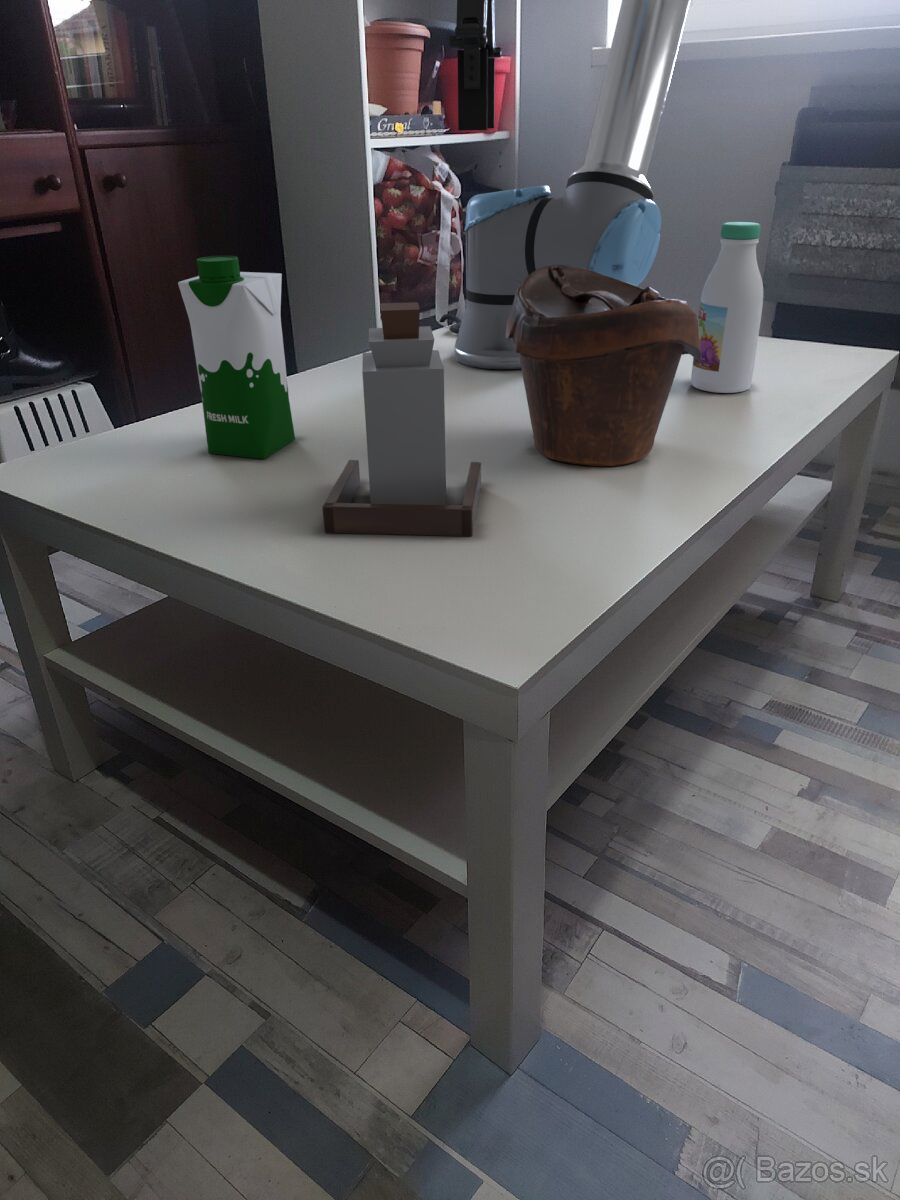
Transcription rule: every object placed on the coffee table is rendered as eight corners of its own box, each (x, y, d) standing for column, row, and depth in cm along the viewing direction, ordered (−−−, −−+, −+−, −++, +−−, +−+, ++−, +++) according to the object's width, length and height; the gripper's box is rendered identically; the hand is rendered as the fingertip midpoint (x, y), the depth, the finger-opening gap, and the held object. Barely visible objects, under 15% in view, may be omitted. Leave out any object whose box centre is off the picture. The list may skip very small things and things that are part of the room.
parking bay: (350, 483, 88) (348, 459, 87) (481, 486, 87) (481, 461, 86) (324, 533, 78) (322, 506, 77) (472, 536, 77) (472, 509, 76)
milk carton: (196, 455, 97) (165, 260, 87) (240, 430, 104) (215, 248, 94) (267, 463, 94) (243, 263, 84) (307, 437, 101) (289, 250, 92)
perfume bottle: (371, 494, 86) (359, 300, 77) (441, 490, 86) (436, 297, 78) (371, 521, 80) (358, 315, 71) (446, 518, 80) (442, 312, 72)
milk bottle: (744, 379, 120) (767, 219, 111) (756, 394, 114) (781, 226, 104) (686, 378, 121) (704, 220, 112) (694, 394, 114) (714, 226, 105)
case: (677, 487, 86) (699, 294, 77) (481, 465, 92) (482, 284, 84) (699, 432, 101) (719, 265, 92) (528, 417, 107) (533, 258, 98)
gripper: (514, -179, 69) (510, 130, 79) (522, -108, 91) (517, 127, 101) (418, -174, 70) (426, 131, 80) (448, -105, 92) (452, 128, 102)
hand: (477, 129), depth 90 cm, fingers open, 13 cm apart
